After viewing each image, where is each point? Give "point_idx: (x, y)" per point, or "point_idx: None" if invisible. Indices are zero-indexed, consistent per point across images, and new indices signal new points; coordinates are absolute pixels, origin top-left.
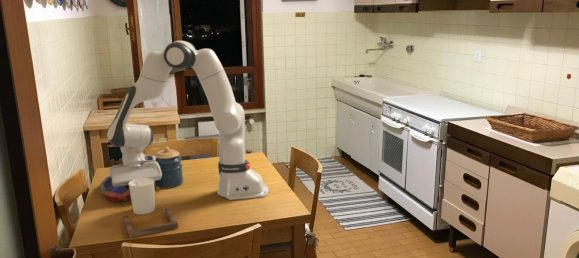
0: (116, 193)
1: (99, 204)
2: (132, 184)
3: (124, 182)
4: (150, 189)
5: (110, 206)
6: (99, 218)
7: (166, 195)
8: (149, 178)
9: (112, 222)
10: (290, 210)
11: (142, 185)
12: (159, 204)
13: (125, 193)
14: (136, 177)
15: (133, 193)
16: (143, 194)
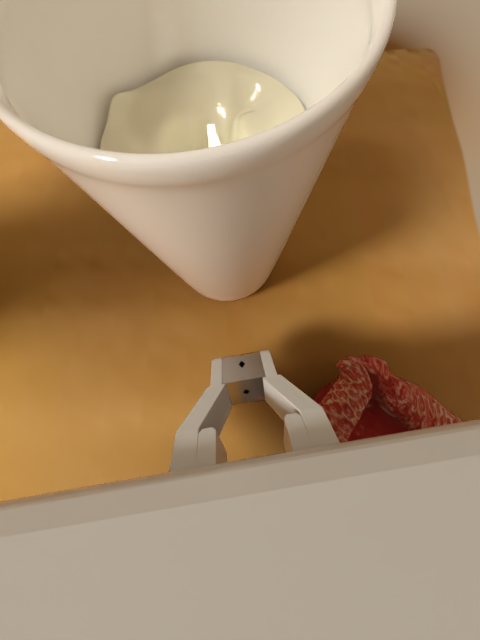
0: (418, 405)
1: (461, 402)
2: (318, 158)
3: (443, 426)
4: (119, 43)
5: (392, 352)
6: (411, 226)
7: (108, 421)
8: (10, 109)
9: (347, 176)
10: None
11: (198, 245)
12: (156, 304)
13: (346, 391)
14: (282, 511)
15: (282, 72)
16: (199, 71)
